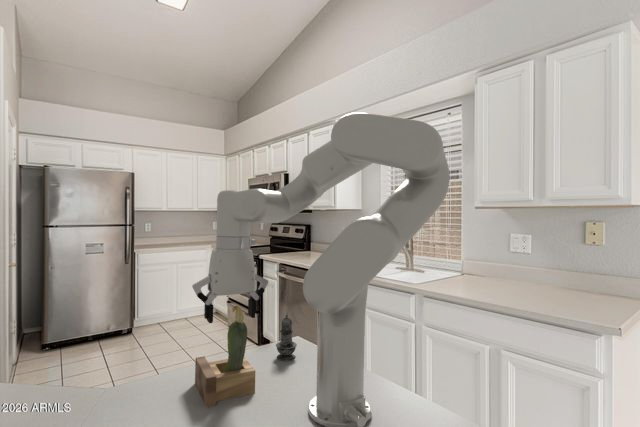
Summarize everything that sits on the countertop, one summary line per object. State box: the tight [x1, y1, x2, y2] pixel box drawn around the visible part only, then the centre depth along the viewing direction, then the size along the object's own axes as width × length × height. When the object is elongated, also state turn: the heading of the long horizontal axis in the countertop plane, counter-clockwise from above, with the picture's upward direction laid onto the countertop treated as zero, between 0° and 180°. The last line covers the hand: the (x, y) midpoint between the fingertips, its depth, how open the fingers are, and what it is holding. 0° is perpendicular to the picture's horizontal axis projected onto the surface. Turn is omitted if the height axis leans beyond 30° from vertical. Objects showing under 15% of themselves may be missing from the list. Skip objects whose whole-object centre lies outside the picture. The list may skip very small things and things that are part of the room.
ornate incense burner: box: [275, 314, 298, 362], centre depth 100 cm, size 6×6×12 cm
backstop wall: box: [194, 356, 217, 408], centre depth 78 cm, size 12×2×6 cm, turn 29°
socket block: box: [208, 357, 256, 403], centre depth 81 cm, size 9×9×5 cm
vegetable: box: [225, 305, 248, 372], centre depth 80 cm, size 4×4×20 cm
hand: (231, 319), depth 81 cm, fingers open, 9 cm apart
